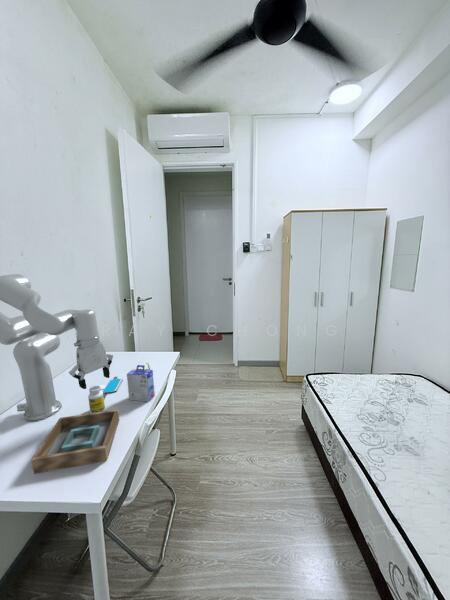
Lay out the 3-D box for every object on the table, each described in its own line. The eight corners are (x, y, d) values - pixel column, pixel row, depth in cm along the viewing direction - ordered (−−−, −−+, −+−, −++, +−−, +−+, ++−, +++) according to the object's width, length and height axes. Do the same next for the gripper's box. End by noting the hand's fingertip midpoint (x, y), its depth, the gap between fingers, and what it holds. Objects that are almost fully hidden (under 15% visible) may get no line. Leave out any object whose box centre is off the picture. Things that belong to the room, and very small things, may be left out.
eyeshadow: (140, 371, 139) (139, 362, 138) (149, 369, 141) (148, 360, 140) (141, 374, 135) (140, 365, 134) (150, 372, 137) (150, 363, 136)
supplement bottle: (88, 415, 102) (85, 392, 100) (92, 407, 107) (88, 386, 105) (103, 412, 103) (100, 390, 101) (106, 405, 108) (103, 383, 107)
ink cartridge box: (155, 395, 115) (152, 364, 112) (149, 402, 110) (146, 370, 107) (135, 393, 117) (132, 363, 114) (128, 400, 112) (125, 369, 109)
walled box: (34, 473, 75) (31, 460, 74) (61, 428, 94) (59, 417, 94) (107, 460, 79) (105, 447, 78) (119, 419, 98) (118, 409, 98)
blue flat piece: (102, 379, 133) (102, 376, 132) (126, 376, 134) (126, 374, 134) (87, 400, 113) (86, 397, 113) (115, 398, 115) (115, 394, 114)
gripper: (70, 351, 91) (78, 395, 94) (114, 336, 105) (120, 375, 108) (60, 347, 95) (68, 390, 98) (103, 333, 109) (109, 371, 112)
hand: (95, 382), depth 103 cm, fingers open, 9 cm apart
